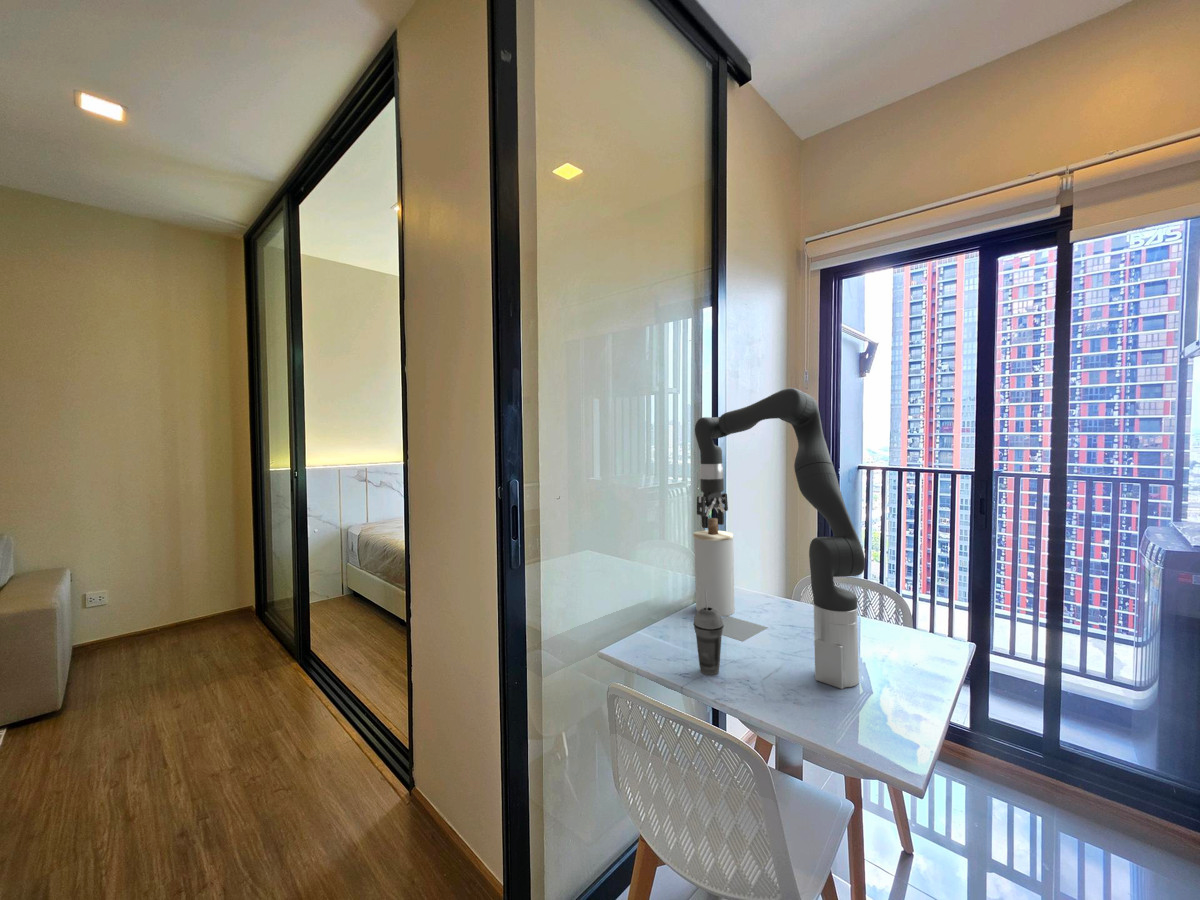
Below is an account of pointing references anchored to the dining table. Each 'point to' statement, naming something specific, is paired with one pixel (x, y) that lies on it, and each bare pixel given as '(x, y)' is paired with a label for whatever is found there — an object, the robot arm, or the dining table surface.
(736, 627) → the mat
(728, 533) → the lid
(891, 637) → the dining table surface
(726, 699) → the dining table surface
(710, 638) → the beverage cup
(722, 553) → the cylinder vase
